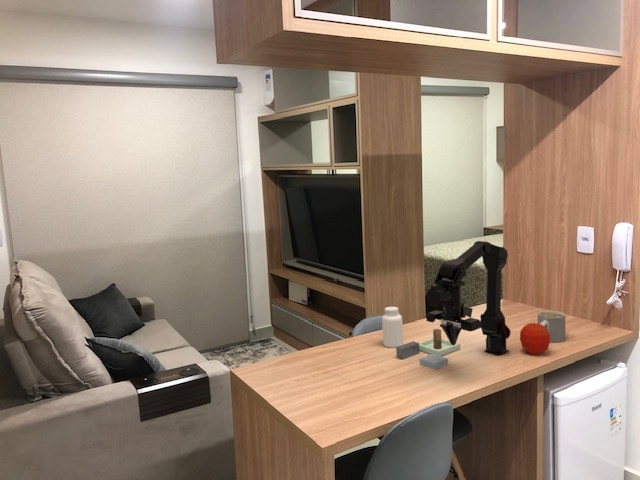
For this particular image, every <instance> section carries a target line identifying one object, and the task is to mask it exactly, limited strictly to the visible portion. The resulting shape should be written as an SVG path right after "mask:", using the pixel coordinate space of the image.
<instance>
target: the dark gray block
mask: <svg viewBox="0 0 640 480" xmlns="http://www.w3.org/2000/svg"><path fill="white" fill-rule="evenodd" d="M395 351H396V358H397V359H400V360H405V359H407V358H410V357H413V356H416V355H419V354H420V351H419V342H417V341H415V340H414V341H411V342H408V343H405V344H404V343H403V345H401V346H398V347H396V350H395Z"/></svg>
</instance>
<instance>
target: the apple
mask: <svg viewBox="0 0 640 480" xmlns="http://www.w3.org/2000/svg"><path fill="white" fill-rule="evenodd" d="M519 333H520V334H519V340H520V345H521V348H522V349H524V350H525V351H526V352H527V353H528V354H530V355H536V356H537V355H541V354H543V353H544V352H546V351H547V350H548V349H549V346H550V344H551V343H550V333H549V331H548V330H547V328H546V327H544V326H543V325H541V324H538V322H537V323H536V322H530V323H526V325H525V324H524V326H523V327H522V328H521V330H520V331H519Z"/></svg>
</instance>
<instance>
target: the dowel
mask: <svg viewBox="0 0 640 480" xmlns="http://www.w3.org/2000/svg"><path fill="white" fill-rule="evenodd" d="M432 335H433V337H432V338H433V342H434V349H441V348H442V341H441V338H442V329H440V328H434V329H432Z"/></svg>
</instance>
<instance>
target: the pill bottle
mask: <svg viewBox="0 0 640 480" xmlns="http://www.w3.org/2000/svg"><path fill="white" fill-rule="evenodd" d="M381 323H382V324H381V326H382V344H383V346H384V347H386V348H391V349H394V348H396V347H398V346H401V345H404V331H403V316H402V315H401V314H400V313H399V307H398V306H387V307H384V315H382V317H381Z"/></svg>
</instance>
